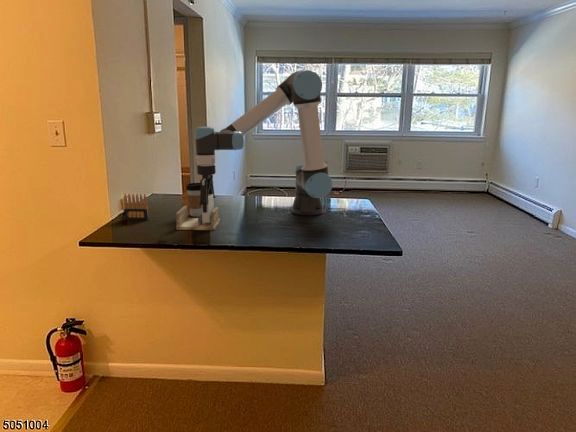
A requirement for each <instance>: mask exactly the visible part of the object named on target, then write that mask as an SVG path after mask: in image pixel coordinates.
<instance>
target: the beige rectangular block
mask: <svg viewBox="0 0 576 432" xmlns="http://www.w3.org/2000/svg"><path fill="white" fill-rule="evenodd" d="M213 199H214V198H213V194H208V205H209V220H202V222H210V221H211V220H212V215H211V212H212V211H213V210H214V208H215V203H214V202H215V201H214V200H213Z"/></svg>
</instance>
